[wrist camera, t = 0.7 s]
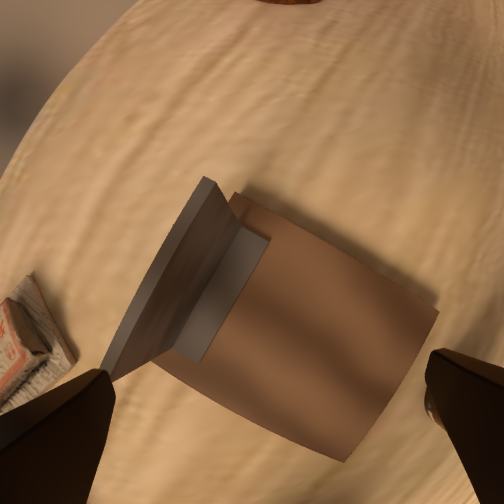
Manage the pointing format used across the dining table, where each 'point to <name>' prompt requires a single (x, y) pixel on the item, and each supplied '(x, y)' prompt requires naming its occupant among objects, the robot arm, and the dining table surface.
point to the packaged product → (29, 347)
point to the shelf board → (272, 323)
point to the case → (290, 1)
